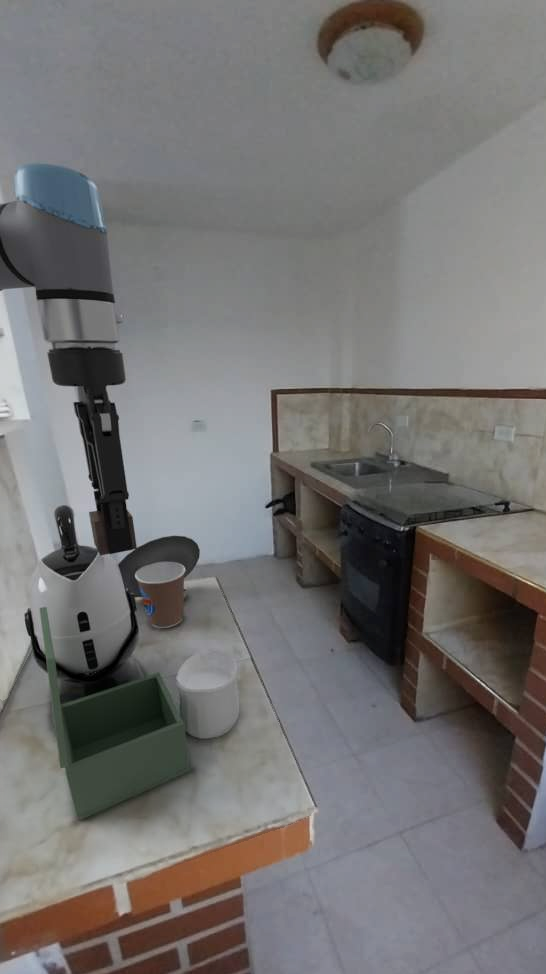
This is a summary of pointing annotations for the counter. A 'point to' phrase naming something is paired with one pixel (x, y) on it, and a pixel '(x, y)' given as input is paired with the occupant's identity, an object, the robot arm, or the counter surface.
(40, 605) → the kettle
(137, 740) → the chest
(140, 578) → the coffee cup
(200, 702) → the cup
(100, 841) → the counter surface
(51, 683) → the lid
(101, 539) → the block
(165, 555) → the plate
